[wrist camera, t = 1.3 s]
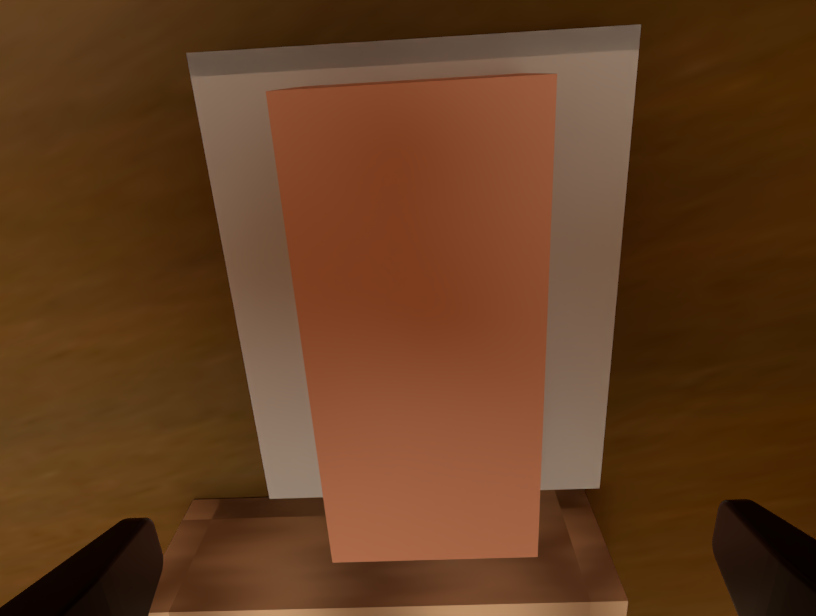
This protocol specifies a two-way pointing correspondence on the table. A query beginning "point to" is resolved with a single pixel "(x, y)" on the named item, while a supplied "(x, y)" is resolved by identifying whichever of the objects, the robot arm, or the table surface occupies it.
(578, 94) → the book pile base
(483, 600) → the shelf tray
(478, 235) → the terracotta rectangular block
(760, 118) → the table surface
